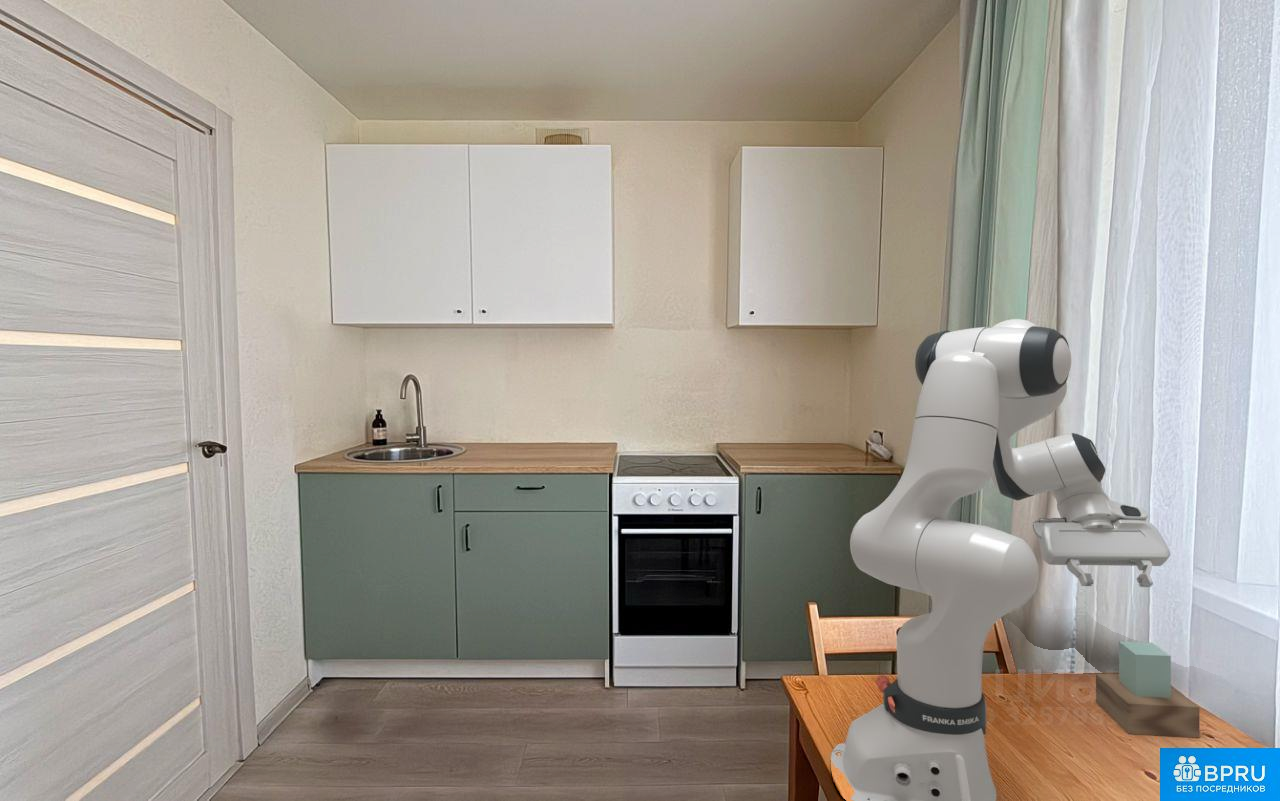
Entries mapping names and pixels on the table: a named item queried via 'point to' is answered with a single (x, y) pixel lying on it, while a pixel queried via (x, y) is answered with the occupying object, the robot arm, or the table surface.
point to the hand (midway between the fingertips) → (1117, 585)
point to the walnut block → (1147, 710)
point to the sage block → (1145, 669)
